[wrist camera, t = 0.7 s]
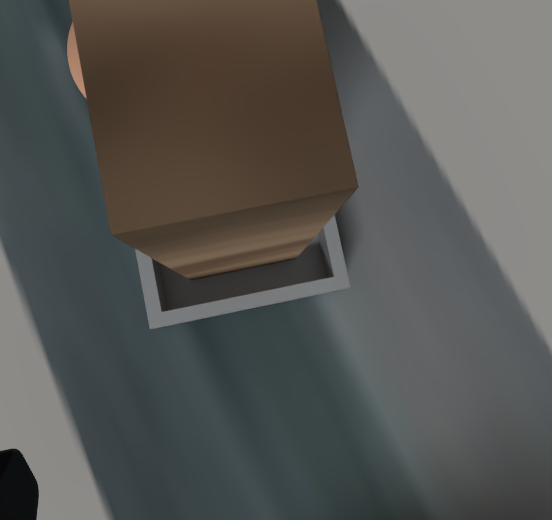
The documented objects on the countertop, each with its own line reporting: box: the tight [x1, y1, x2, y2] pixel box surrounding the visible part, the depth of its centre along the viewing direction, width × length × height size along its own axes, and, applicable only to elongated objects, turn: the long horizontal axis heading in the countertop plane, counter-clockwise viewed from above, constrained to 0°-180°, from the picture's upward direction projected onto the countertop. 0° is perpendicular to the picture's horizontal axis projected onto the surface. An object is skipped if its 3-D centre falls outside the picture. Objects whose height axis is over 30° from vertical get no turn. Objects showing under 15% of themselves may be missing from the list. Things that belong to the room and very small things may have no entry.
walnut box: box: [69, 0, 358, 280], centre depth 17 cm, size 5×5×14 cm
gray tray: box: [135, 215, 351, 329], centre depth 24 cm, size 9×9×2 cm
